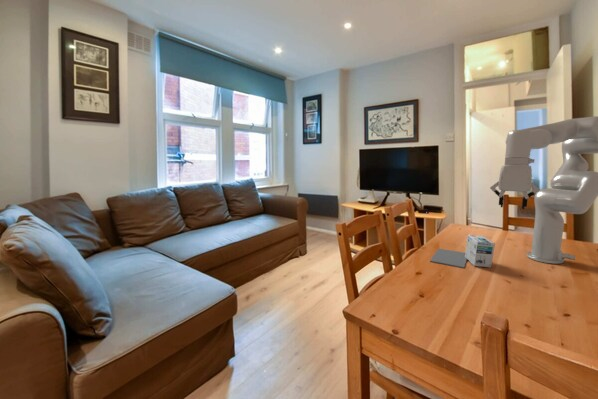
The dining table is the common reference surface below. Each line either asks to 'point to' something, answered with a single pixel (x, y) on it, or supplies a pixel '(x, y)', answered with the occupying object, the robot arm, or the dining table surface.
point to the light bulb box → (479, 251)
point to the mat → (449, 258)
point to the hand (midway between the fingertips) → (512, 207)
